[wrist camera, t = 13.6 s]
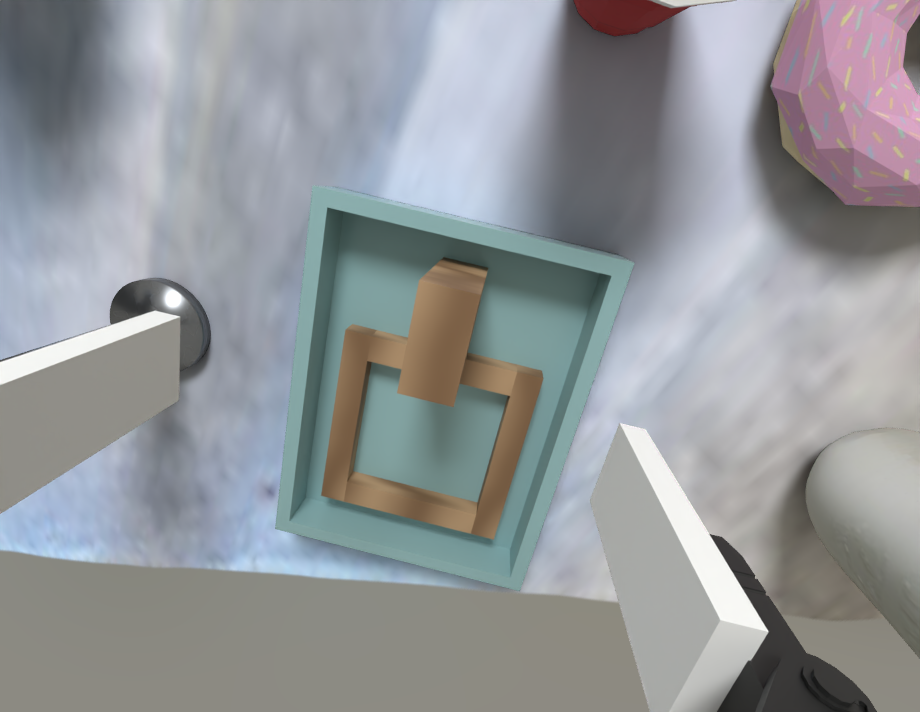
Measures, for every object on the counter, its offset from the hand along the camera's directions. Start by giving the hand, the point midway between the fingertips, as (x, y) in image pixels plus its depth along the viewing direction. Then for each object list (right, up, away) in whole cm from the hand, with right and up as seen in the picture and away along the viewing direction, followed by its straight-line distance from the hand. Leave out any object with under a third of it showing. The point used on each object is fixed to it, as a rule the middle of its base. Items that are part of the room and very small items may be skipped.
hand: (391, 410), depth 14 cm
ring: (0, -1, +20) cm, 20 cm away
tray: (0, -1, +21) cm, 21 cm away
